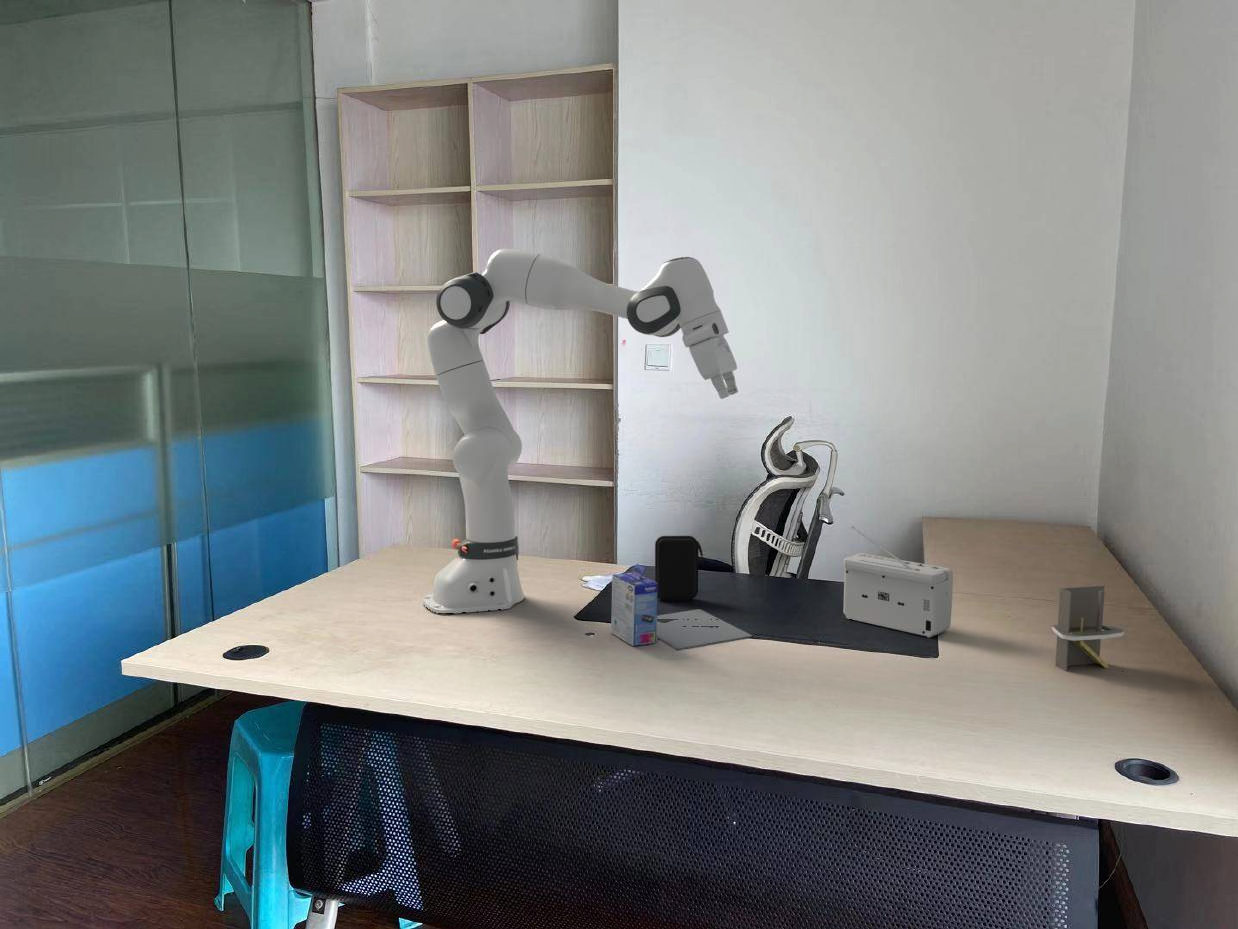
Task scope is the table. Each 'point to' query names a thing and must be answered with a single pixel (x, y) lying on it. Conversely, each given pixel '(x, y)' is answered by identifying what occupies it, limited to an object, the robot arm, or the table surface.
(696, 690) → the table surface
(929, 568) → the stereo radio cassette player
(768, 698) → the table surface
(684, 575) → the carrying case or bag
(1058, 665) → the architectural model
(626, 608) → the ink cartridge box
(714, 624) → the mat
